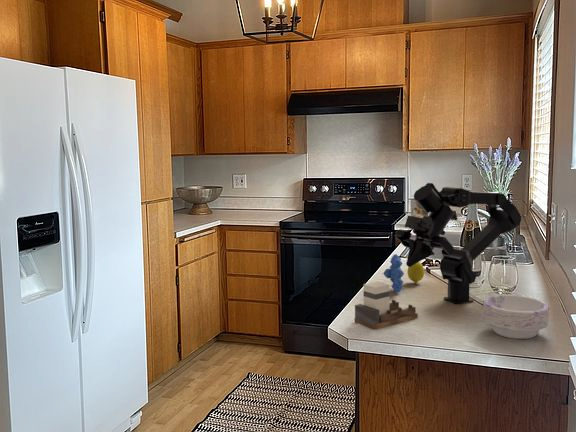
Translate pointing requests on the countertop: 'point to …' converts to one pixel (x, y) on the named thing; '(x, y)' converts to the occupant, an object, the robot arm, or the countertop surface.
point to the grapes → (395, 273)
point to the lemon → (416, 272)
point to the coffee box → (417, 209)
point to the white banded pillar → (377, 296)
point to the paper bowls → (515, 315)
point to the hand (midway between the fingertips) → (407, 265)
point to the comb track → (383, 315)
